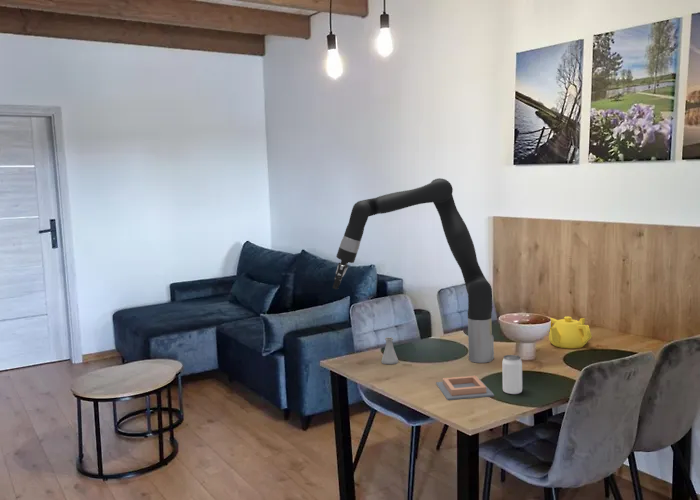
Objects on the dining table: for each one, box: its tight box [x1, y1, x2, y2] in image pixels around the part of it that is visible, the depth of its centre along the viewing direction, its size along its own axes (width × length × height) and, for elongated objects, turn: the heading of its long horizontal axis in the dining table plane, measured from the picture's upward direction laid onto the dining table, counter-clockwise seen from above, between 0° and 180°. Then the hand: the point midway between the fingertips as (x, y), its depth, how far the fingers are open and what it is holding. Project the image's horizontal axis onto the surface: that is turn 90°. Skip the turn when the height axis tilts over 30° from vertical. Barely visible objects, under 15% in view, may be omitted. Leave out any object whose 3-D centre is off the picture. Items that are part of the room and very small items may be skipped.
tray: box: [435, 375, 495, 401], centre depth 210 cm, size 16×16×3 cm
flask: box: [380, 336, 400, 365], centre depth 245 cm, size 7×7×10 cm
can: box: [501, 354, 523, 395], centre depth 206 cm, size 6×6×12 cm
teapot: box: [548, 315, 593, 350], centre depth 257 cm, size 17×17×12 cm
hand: (335, 286), depth 243 cm, fingers open, 8 cm apart
